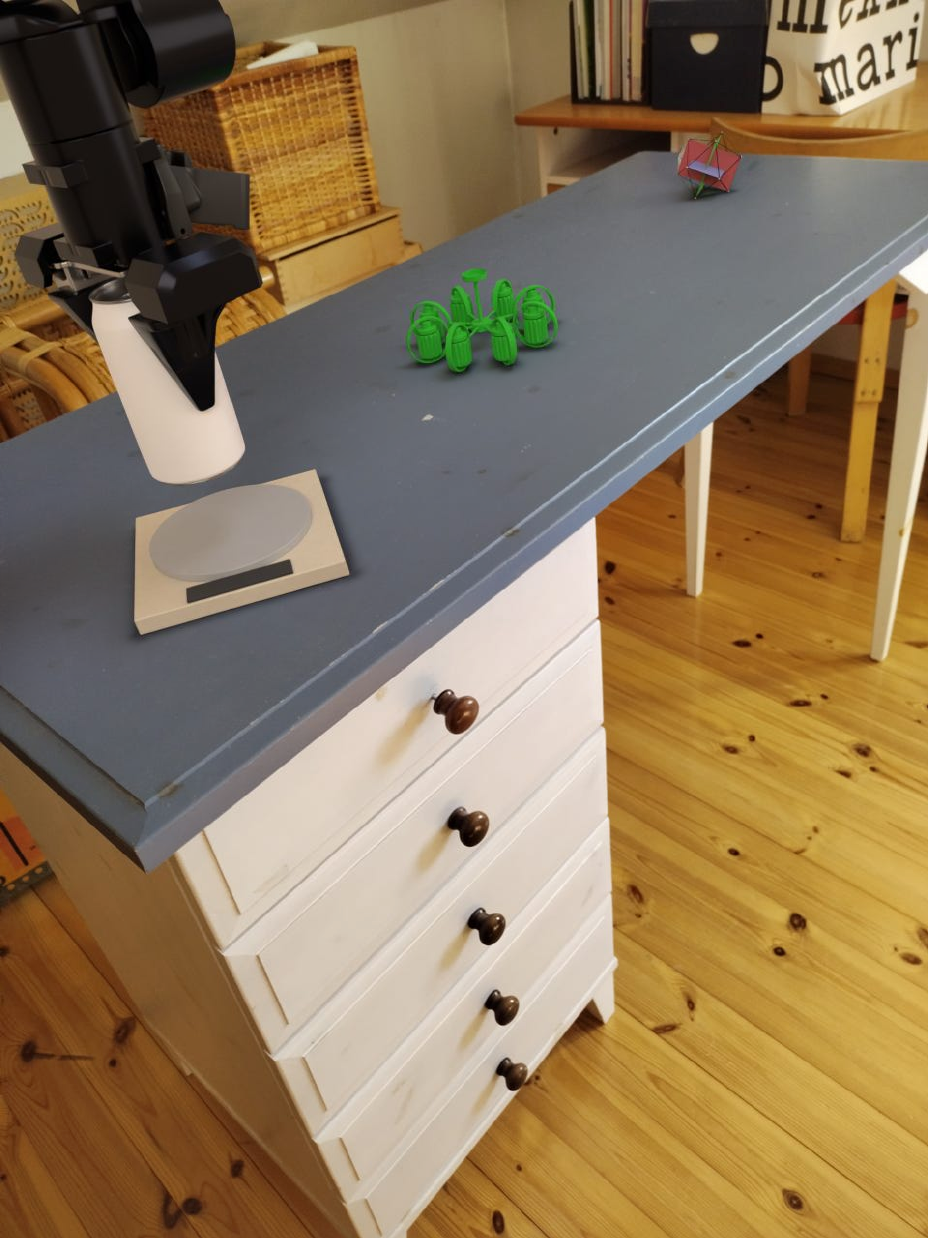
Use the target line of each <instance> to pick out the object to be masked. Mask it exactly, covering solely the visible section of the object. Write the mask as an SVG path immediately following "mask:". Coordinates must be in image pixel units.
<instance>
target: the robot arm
mask: <svg viewBox="0 0 928 1238" xmlns="http://www.w3.org/2000/svg"><path fill="white" fill-rule="evenodd" d="M75 3H76V5H77V9H78V10H77V11H75V10H74V9H73V8H72V6H70V5H69V4H68V3H67V2H65V1H64V0H6V1H5V0H0V78H1V81H2V85H3V86H4V89H5V91H6V94H7V96H8V99H9V101H10V104H11V106H12V109H13V110H14V114H15V116H16V119H17V121H18V123H19V126H20V129H21V132H22V134H23V136H24V138H25V141H26V143H27V146H28V149H29V151H30V154H31V157H32V159H33V160H30V161H27V162H23V163H22V164H21V165H22V169H23V171H24V173H25V176H26V178H27V181H28V183H29V184H30V185H39V186H44V189H45V191H46V195H47V196H48V199H49V202H50V204H51V206H52V208H53V212H54V214H55V217H56V219H57V222H55V223H52V224H49V225H46V226H42V227H40V228H37V229H33V230H32V231H28V232H25V233H23V234H21V235H20V236H19V239H18V242H17V245H16V248H15V250H14V253H13V256H14V258H15V260H16V263H17V265H18V267H19V269H20V272H21V275H22V277H23V279H24V281H25V283H26V285H29V286H33V287H36V288H40V289H43V290H44V289H46V288H50V287H52V286H53V283H54V282H53V281H55V284H56V286H57V287H56V288H54V289H51V290H49V291H48V292H47V293H46V294H47V297H48V298H49V300H50V301H51V302H53V303H54V304H56V305H58V307H60V308H61V309H62V310H63V311H64V312H65V314H67V315H68V316H69V317H70V318H71V319H72V320H73V321H74V322H75V323H76V324H77V325H78V326H79V327H80V328H81V329H82V330H83V331H84V332H85V333H86V334H88V336H89V337H91V339H92V340H93V341H94V342H95V343H97V345H99V343H98V340H97V338H96V335H95V332H94V329H93V326H92V311H93V304H92V302H91V301H90V300H89V294H90V293H91V292H92V291H93V290H94V289H95V288H97V287H98V286H100V285H102V284H104V283H106V282H108V281H111V280H113V279H116V278H125V281H124V282H125V285H126V287H127V290H128V293H129V295H130V298H131V301H132V302H133V303H134V305H135V306H136V307H137V309H138V310H139V311H140V313H137V314H135V315H133V316H130V317H128V320H129V322H130V323H131V324H132V326H133V327H134V328H135V330H136V331H137V332H138V334H139V335H140V336H141V338H142V339H143V340H144V342H145V343H146V344H147V346H148V347H149V348H150V349H151V351H152V352H153V353H154V355H155V356H156V357H157V359H158V360H159V361H160V363H161V364H162V365H163V367H164V368H165V369H166V371H167V372H168V373H169V375H170V376H171V377H172V379H173V380H174V381H175V382H176V384H177V385H178V386H179V388H180V389H181V390H182V392H183V393H184V394H185V396H186V397H187V398H188V399H189V400H190V402H191V403H192V404H193V405H194V407H195V408H196V409H197V410H198V411H201V412H203V411H205V410H207V409H209V408H211V407H213V406H214V404H215V352H216V335H217V324H218V320H219V318H220V316H221V315H222V313H223V311H224V309H225V308H226V306H227V304H229V303H231V302H233V301H235V300H236V299H238V298H240V297H242V296H245V295H247V294H249V293H252V292H254V291H256V290H258V289H261V288H262V286H263V284H264V282H263V278H262V274H261V271H260V268H259V264H258V263H259V262H258V260H257V256H256V253H255V250H254V248H252V247H250V246H249V245H248V244H246V243H244V242H243V241H241V240H240V239H239V238H236V237H235V236H228V235H224V234H223V235H222V234H217V233H211V232H210V233H209V232H204V231H199V232H198V233H195V230H194V227H193V224H197V225H210V226H220V227H226V226H231V227H232V228H233V229H234V230H238V231H249V230H250V228H251V184H250V183H251V175H250V173H243V172H233V171H226V170H225V171H224V170H216V169H206V168H199V167H195V166H194V163H193V161H192V159H191V157H190V155H189V153H188V152H187V151H183V150H172V149H168V148H167V149H166V148H164V147H163V146H162V144H161V143H160V142H157V140H156V137H143V136H142V137H140V135H139V132H138V129H137V126H136V122H135V120H134V118H133V114H132V111H131V108H130V105H131V106H133V107H136V108H139V109H143V110H146V109H152V108H154V107H157V106H160V105H163V104H165V103H168V102H172V101H175V100H177V99H180V98H184V97H186V96H191V95H192V94H193V95H194V94H196V93H199V92H202V91H205V90H208V89H211V88H214V87H217V86H219V85H221V84H223V83H225V82H226V81H227V80H228V79H229V77H230V76H231V74H232V72H233V70H234V67H235V63H236V56H237V55H236V53H237V51H236V48H237V47H236V46H237V45H236V37H235V31H234V27H233V23H232V20H231V17H230V15H229V14H228V13H226V12H225V10H224V8H223V6H222V4H221V2H220V0H75ZM129 104H130V105H129ZM172 240H176V241H174V242H171V243H169V244H168V242H169V241H172ZM53 279H54V280H53Z"/></svg>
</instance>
